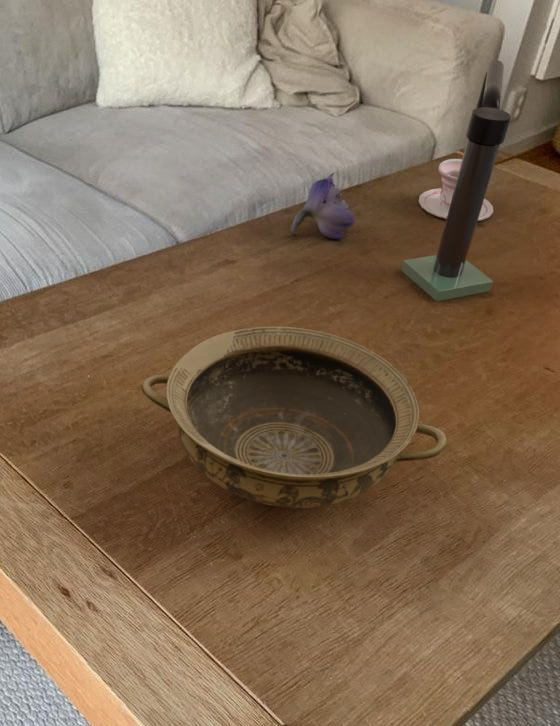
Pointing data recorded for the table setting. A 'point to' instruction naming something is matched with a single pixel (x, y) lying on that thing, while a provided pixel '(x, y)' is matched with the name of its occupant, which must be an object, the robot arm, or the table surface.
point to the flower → (326, 210)
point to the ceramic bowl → (291, 415)
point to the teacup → (448, 192)
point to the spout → (489, 110)
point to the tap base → (458, 233)
